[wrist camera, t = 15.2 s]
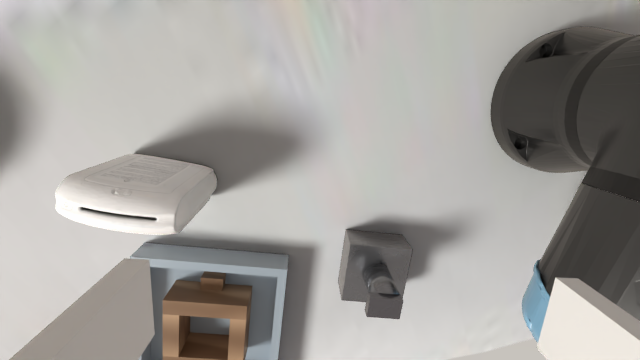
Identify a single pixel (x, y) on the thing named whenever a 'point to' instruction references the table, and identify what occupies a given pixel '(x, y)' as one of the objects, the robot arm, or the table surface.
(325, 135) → the table surface
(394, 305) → the metal stake
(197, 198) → the photo printer
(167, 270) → the slate tray
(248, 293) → the walnut ring
